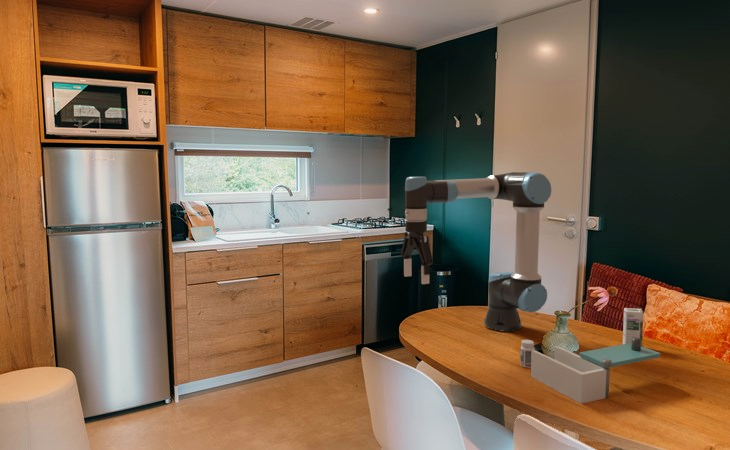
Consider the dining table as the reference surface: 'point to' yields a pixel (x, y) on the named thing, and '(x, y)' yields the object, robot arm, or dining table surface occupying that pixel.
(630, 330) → the syrup box
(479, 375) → the dining table surface
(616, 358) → the lid
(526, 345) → the pill bottle
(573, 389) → the grey planter box
